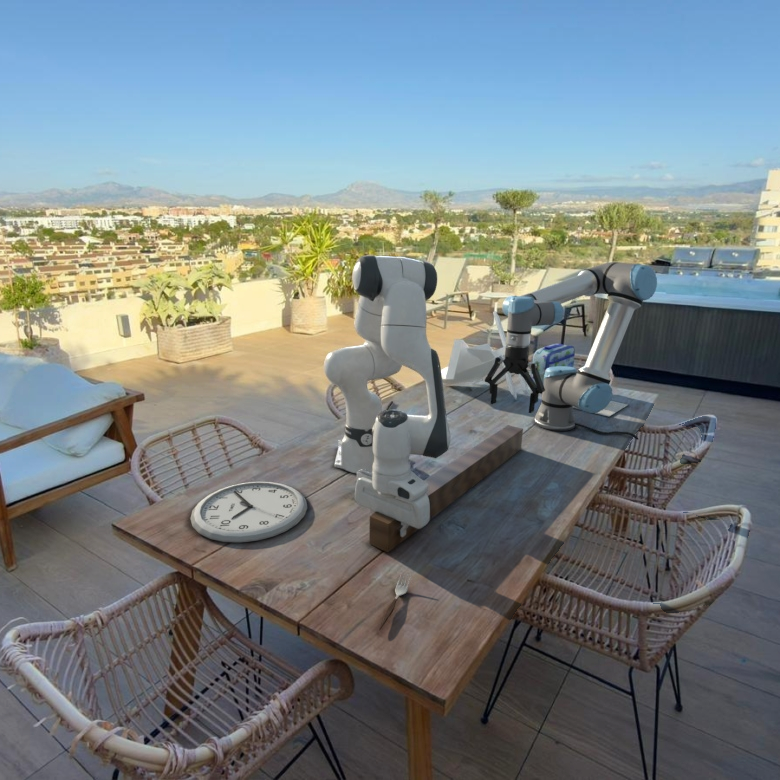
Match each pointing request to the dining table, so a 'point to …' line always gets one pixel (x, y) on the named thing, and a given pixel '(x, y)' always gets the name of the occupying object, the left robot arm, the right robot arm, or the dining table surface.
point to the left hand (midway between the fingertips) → (390, 530)
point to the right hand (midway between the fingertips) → (511, 407)
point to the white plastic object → (477, 362)
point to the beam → (451, 483)
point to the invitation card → (611, 408)
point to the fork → (399, 591)
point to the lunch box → (553, 357)
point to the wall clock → (248, 512)
